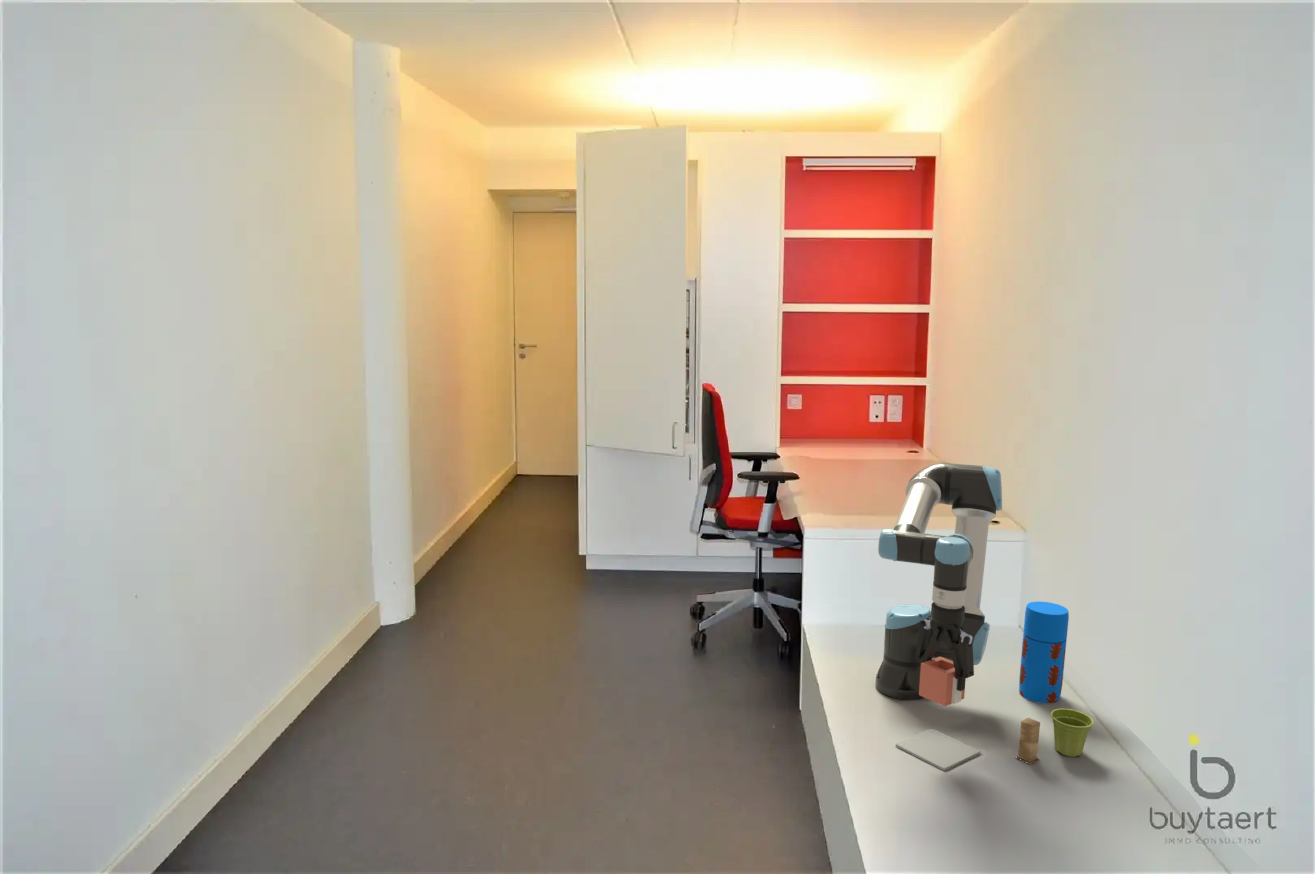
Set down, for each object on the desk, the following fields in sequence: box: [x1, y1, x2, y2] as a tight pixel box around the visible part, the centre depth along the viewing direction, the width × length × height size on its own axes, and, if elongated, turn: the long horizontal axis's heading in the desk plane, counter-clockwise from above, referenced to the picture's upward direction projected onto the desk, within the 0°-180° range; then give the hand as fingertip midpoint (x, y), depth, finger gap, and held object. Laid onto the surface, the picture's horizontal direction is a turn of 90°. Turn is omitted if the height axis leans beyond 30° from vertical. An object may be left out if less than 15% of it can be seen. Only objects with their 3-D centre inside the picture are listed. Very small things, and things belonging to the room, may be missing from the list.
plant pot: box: [1050, 708, 1094, 758], centre depth 222 cm, size 9×9×9 cm
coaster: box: [895, 728, 981, 772], centre depth 222 cm, size 14×14×1 cm
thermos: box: [1018, 600, 1070, 704], centre depth 251 cm, size 11×11×25 cm
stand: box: [1015, 717, 1041, 765], centre depth 218 cm, size 4×4×10 cm
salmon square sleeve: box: [919, 657, 967, 707], centre depth 219 cm, size 7×7×8 cm
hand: (941, 695), depth 220 cm, fingers closed on salmon square sleeve, 7 cm apart
